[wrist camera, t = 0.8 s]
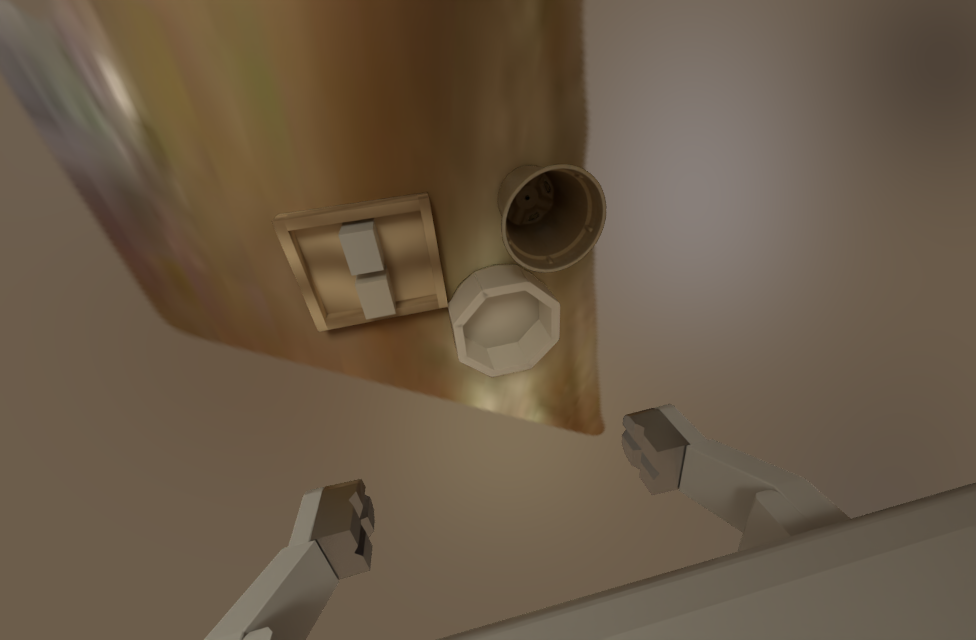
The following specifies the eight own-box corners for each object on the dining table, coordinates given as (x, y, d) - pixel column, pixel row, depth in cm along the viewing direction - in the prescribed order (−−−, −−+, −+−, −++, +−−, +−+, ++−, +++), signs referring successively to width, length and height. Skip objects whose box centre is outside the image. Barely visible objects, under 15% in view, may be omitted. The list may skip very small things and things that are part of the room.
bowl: (441, 274, 41) (447, 296, 37) (543, 255, 43) (560, 275, 39) (456, 357, 48) (462, 383, 44) (544, 338, 49) (558, 362, 45)
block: (357, 269, 38) (354, 285, 35) (386, 264, 39) (386, 279, 36) (367, 302, 40) (366, 319, 38) (395, 297, 41) (395, 313, 38)
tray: (277, 214, 34) (271, 221, 33) (427, 192, 36) (429, 198, 34) (321, 320, 41) (318, 331, 39) (445, 297, 43) (448, 306, 41)
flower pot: (524, 256, 42) (552, 291, 35) (462, 204, 38) (479, 232, 31) (584, 190, 40) (626, 214, 33) (525, 126, 35) (559, 137, 28)
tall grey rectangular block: (342, 222, 35) (338, 235, 33) (374, 217, 36) (372, 229, 33) (354, 260, 38) (351, 275, 35) (384, 255, 38) (383, 270, 35)
